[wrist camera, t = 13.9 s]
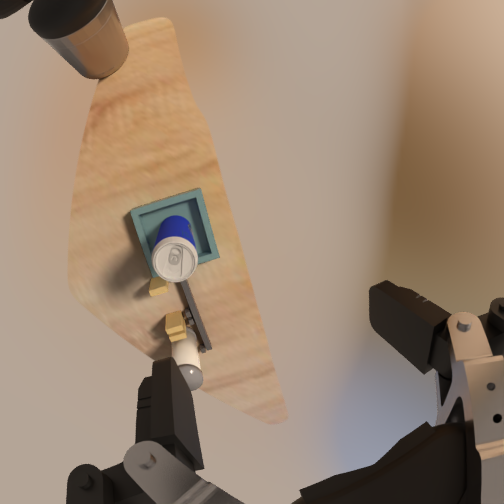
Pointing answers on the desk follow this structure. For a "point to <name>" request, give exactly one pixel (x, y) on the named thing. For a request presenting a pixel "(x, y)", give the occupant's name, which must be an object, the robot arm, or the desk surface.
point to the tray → (182, 205)
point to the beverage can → (175, 250)
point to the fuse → (188, 359)
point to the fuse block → (180, 314)
